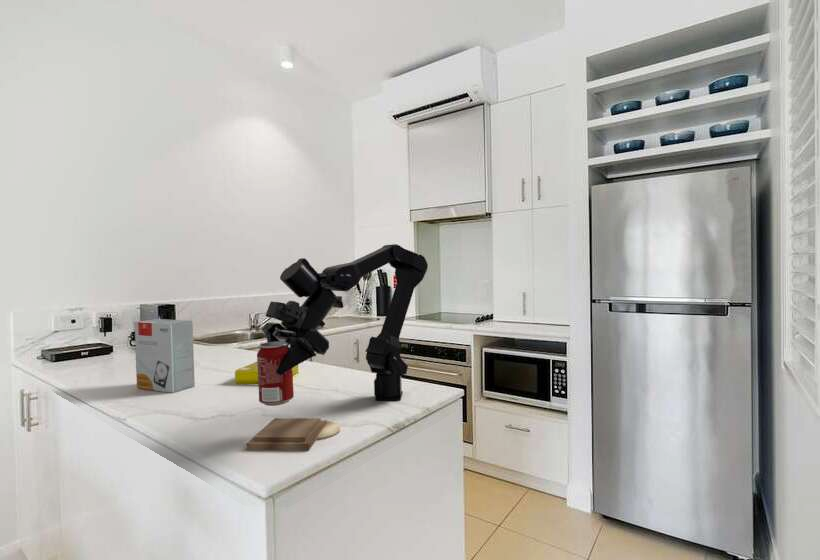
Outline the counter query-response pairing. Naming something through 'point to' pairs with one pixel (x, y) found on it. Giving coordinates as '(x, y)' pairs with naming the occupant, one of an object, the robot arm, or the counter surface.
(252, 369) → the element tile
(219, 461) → the counter surface
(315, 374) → the counter surface
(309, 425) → the brown flat square block
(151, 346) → the hard drive box
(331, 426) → the coaster
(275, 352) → the soda can
